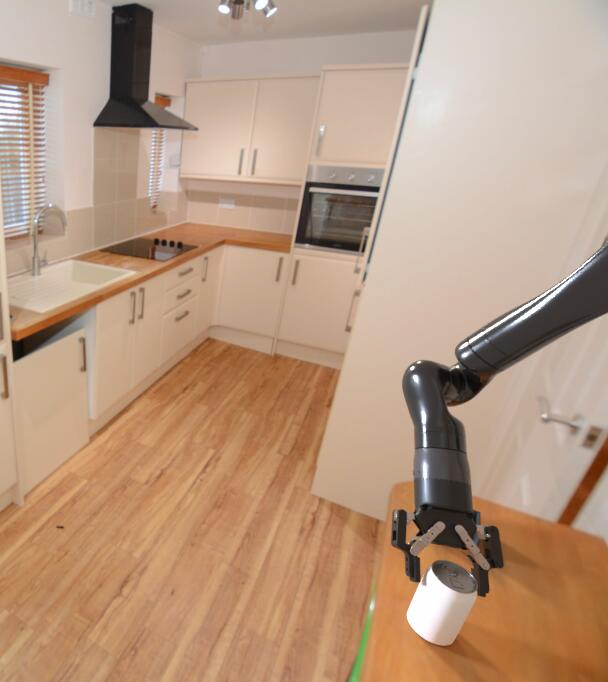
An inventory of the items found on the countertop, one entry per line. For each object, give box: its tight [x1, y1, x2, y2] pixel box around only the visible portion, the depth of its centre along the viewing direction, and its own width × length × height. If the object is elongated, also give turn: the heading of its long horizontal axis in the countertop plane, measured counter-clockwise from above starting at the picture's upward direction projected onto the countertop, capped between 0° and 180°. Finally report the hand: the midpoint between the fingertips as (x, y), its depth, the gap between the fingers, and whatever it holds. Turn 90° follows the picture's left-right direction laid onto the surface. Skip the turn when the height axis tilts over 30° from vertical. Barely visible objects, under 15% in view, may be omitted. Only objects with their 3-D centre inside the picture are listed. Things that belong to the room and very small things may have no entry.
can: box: [406, 559, 478, 647], centre depth 71 cm, size 6×6×12 cm
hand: (446, 588), depth 70 cm, fingers open, 8 cm apart
